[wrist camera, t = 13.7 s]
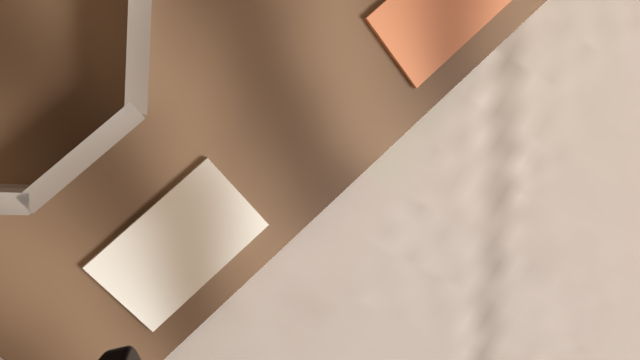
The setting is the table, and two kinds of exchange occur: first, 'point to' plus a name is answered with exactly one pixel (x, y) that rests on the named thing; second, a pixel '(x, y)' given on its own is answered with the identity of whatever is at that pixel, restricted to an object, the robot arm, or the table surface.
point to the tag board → (195, 146)
